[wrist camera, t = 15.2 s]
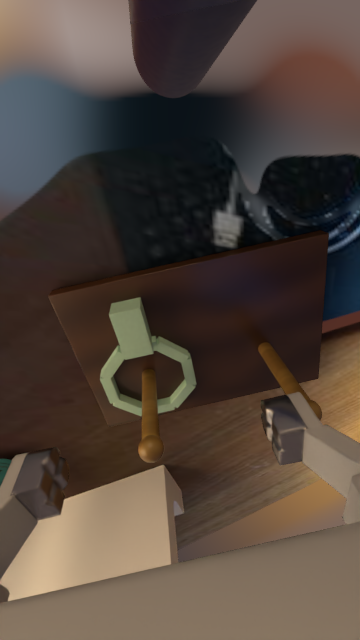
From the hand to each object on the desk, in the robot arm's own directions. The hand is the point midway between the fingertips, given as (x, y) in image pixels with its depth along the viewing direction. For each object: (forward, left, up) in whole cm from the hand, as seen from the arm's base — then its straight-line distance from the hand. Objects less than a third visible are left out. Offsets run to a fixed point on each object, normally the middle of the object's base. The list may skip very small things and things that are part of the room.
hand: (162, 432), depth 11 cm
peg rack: (+9, +4, -20) cm, 23 cm away
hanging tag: (+10, -3, -19) cm, 21 cm away
